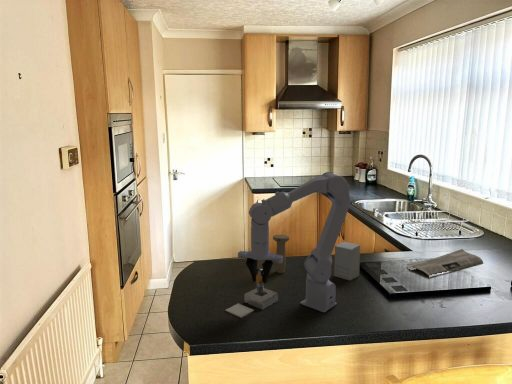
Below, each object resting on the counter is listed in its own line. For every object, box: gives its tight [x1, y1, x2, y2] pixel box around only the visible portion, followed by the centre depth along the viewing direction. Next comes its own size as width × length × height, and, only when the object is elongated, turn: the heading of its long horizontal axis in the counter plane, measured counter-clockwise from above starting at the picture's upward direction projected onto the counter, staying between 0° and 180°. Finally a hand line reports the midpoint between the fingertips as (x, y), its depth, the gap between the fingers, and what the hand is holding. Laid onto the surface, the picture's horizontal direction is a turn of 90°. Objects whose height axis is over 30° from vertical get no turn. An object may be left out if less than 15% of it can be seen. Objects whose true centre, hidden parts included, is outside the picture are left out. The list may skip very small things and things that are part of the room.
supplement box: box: [334, 241, 361, 281], centre depth 153 cm, size 7×7×13 cm
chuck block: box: [243, 287, 279, 310], centre depth 132 cm, size 8×8×3 cm
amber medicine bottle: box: [254, 267, 265, 291], centre depth 125 cm, size 3×3×7 cm
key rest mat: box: [225, 302, 255, 319], centre depth 126 cm, size 7×6×1 cm
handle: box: [272, 234, 290, 274], centre depth 157 cm, size 5×6×15 cm
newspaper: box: [406, 248, 484, 276], centre depth 164 cm, size 35×12×4 cm, turn 118°
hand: (260, 281), depth 126 cm, fingers closed on amber medicine bottle, 3 cm apart
